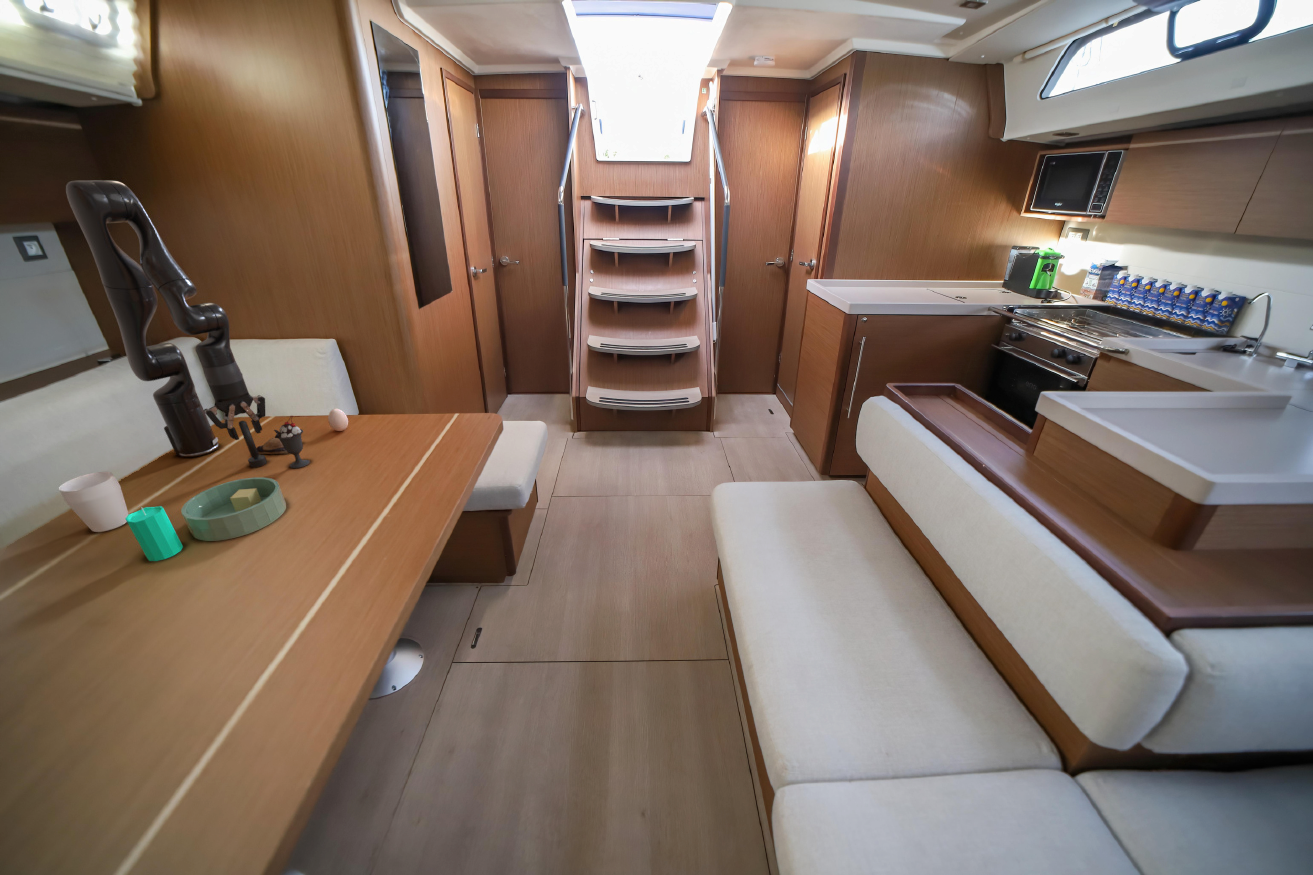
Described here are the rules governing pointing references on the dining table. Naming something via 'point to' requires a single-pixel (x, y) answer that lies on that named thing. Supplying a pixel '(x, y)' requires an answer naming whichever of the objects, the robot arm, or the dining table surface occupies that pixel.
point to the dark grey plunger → (251, 447)
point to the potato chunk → (245, 499)
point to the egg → (338, 420)
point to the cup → (96, 500)
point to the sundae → (292, 442)
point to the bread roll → (272, 447)
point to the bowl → (232, 510)
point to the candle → (154, 533)
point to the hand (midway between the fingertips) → (247, 435)
